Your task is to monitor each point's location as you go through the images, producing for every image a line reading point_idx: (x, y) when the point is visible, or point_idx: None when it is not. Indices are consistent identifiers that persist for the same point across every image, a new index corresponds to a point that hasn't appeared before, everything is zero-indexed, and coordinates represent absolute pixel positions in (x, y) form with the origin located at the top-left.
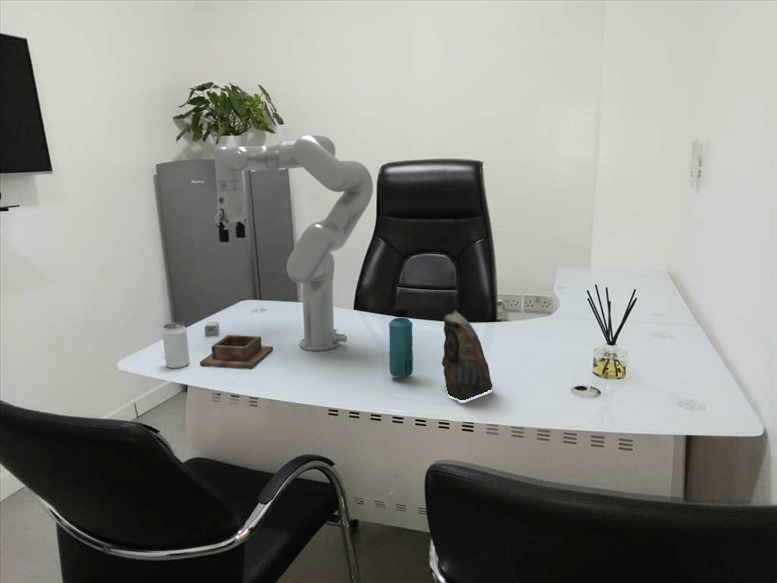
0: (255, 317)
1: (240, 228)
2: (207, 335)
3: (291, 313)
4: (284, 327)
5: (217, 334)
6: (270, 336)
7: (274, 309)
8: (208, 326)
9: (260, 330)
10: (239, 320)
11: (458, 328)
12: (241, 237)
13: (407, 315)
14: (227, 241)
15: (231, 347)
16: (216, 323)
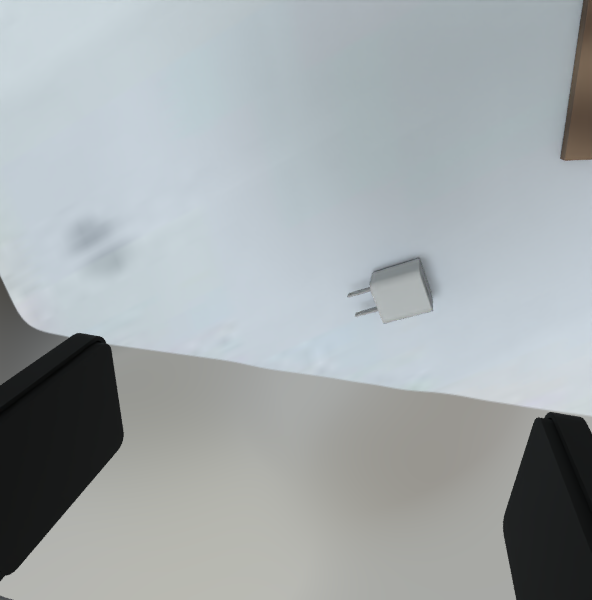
0: (176, 221)
1: (12, 478)
2: (430, 290)
3: (83, 99)
4: (259, 30)
5: (416, 259)
6: (391, 30)
7: (67, 195)
8: (428, 298)
9: (320, 121)
10: (225, 263)
11: None
12: (112, 377)
13: None
14: (577, 430)
15: None
16: (391, 283)
